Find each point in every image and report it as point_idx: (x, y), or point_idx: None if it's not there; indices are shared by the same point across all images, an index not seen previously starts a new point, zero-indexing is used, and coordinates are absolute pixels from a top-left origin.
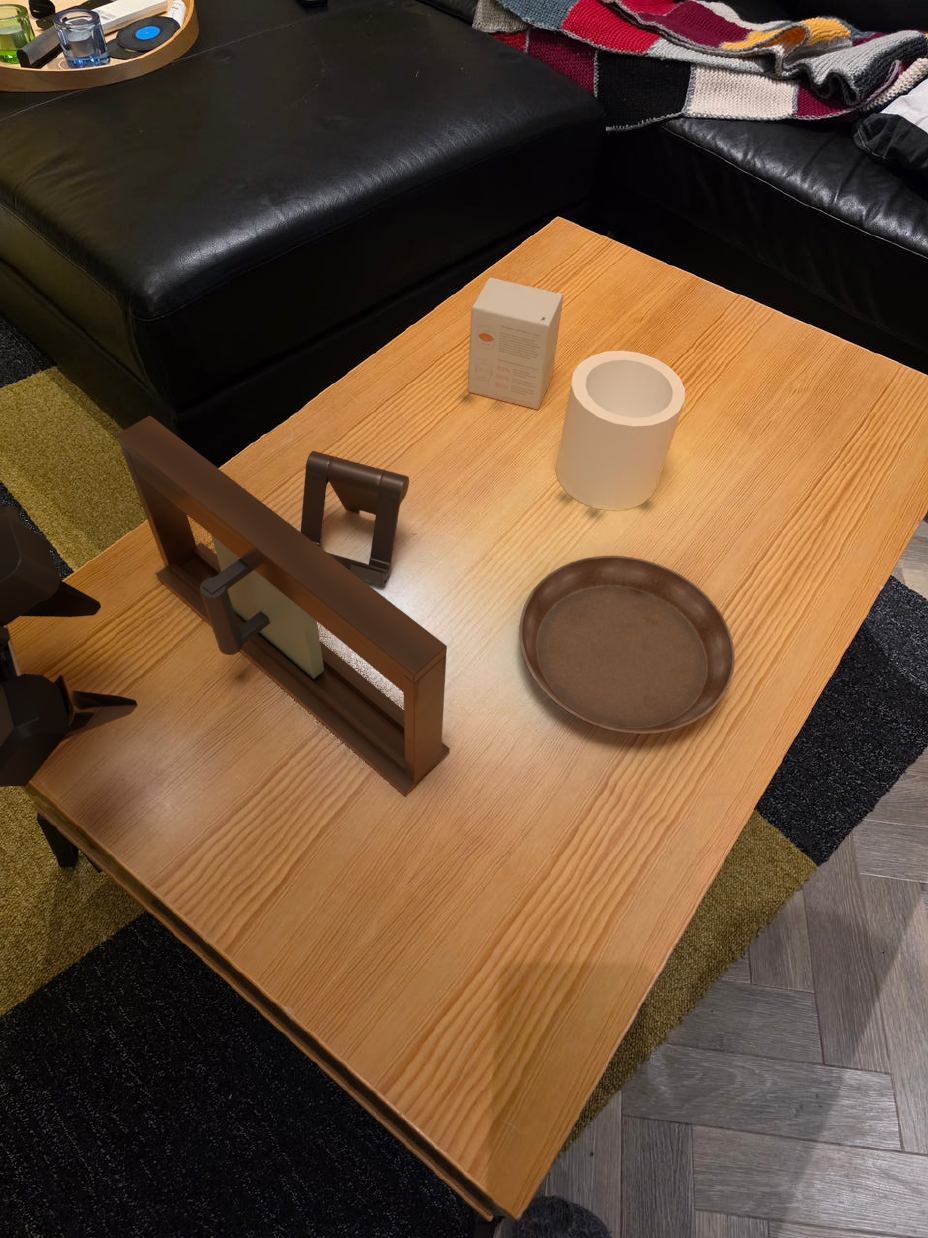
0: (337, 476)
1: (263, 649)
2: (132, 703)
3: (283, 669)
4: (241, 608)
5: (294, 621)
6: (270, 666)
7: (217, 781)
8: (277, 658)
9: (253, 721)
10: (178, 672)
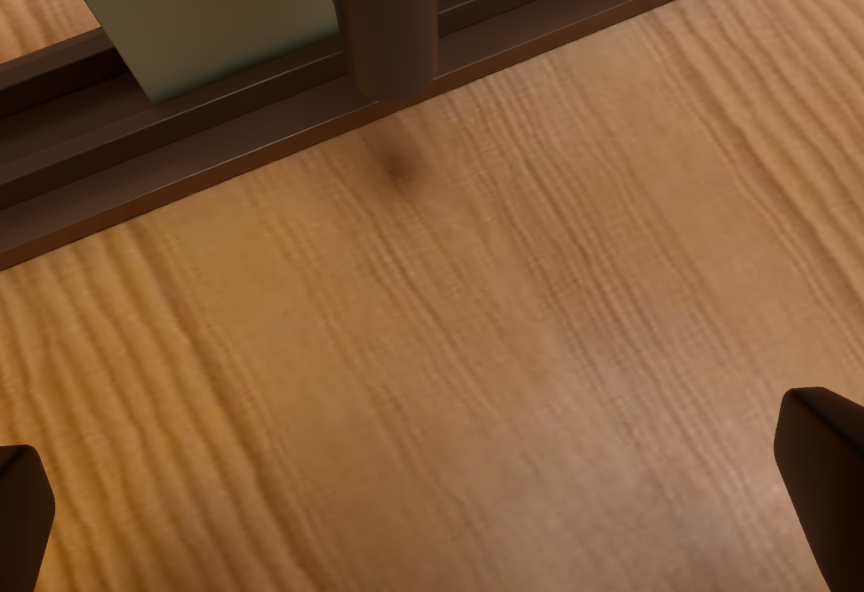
0: None
1: None
2: (845, 400)
3: (442, 37)
4: (196, 41)
5: None
6: None
7: (738, 327)
8: None
9: (567, 178)
10: (296, 344)
